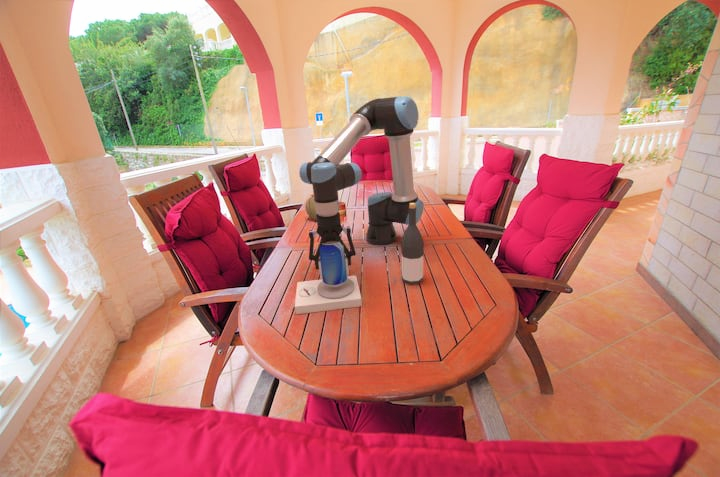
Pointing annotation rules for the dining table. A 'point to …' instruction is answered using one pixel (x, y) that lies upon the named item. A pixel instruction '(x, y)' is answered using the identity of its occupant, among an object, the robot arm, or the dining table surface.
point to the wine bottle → (412, 251)
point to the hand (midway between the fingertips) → (334, 275)
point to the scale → (326, 296)
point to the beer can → (333, 263)
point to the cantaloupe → (311, 207)
